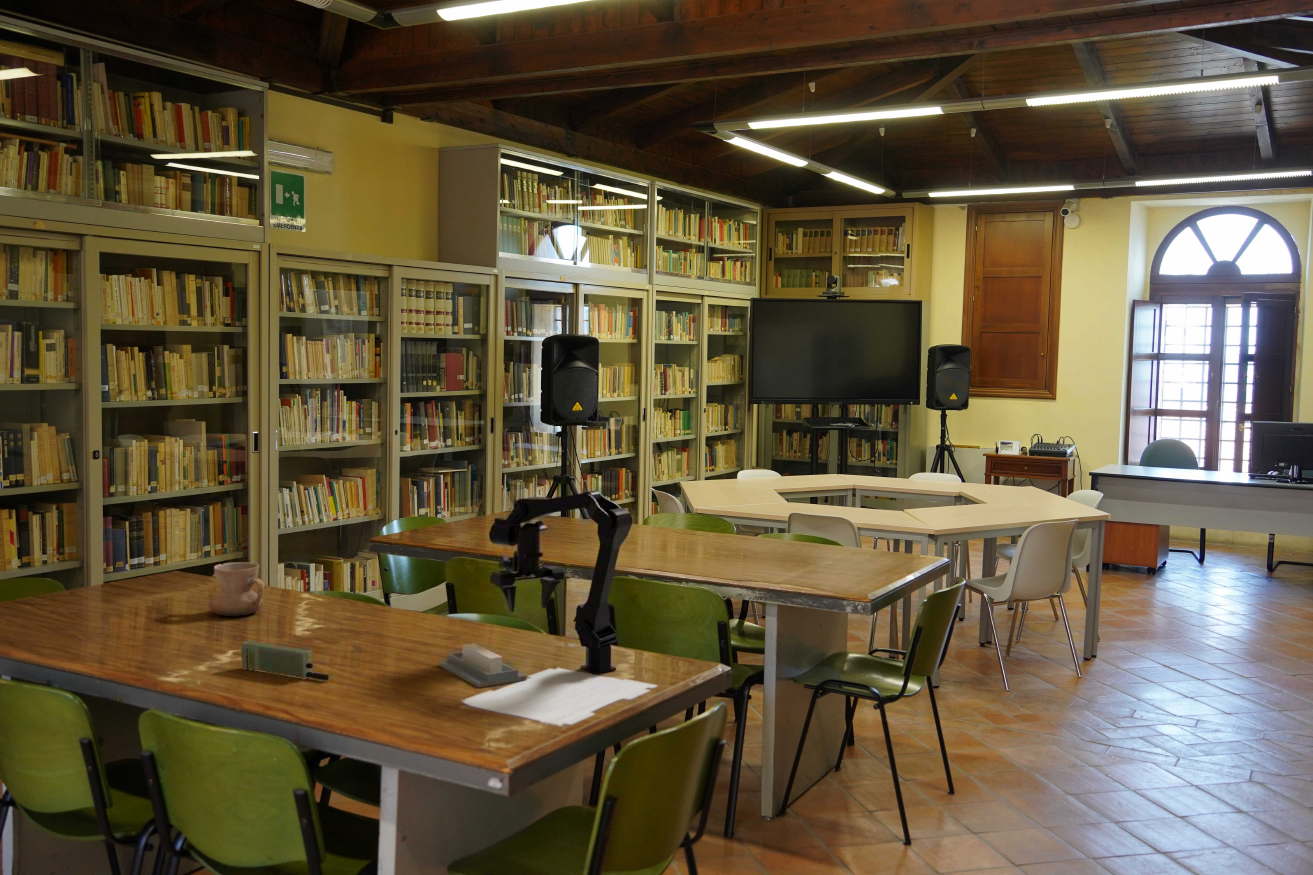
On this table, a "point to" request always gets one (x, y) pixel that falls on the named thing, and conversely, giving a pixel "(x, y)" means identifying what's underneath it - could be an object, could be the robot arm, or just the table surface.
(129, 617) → the table surface
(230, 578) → the pink mug
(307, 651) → the handheld radio
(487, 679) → the grey rectangular tray
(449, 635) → the table surface
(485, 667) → the white long block
